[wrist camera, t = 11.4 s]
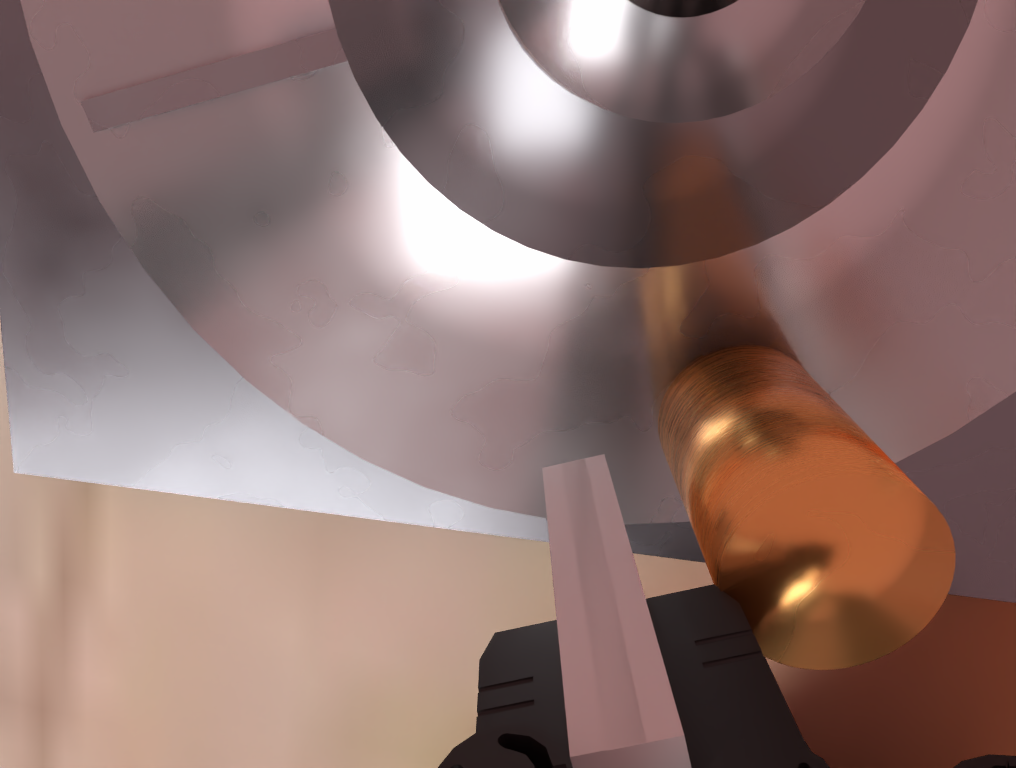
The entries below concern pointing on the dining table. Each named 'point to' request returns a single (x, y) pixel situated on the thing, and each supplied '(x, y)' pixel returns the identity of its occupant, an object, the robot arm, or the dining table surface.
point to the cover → (646, 111)
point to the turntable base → (256, 418)
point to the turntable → (572, 309)
